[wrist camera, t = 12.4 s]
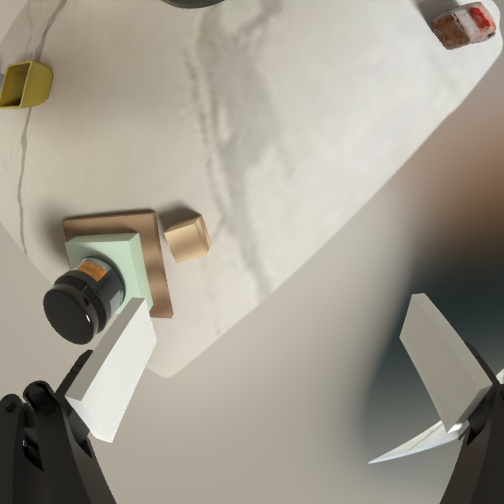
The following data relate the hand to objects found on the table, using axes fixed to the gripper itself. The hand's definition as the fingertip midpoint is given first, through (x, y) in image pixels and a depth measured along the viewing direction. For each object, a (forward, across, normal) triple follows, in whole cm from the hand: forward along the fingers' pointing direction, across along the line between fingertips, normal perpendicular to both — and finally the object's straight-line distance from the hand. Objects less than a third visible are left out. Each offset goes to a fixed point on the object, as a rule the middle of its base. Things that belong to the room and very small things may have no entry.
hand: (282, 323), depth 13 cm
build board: (+32, -29, -12) cm, 44 cm away
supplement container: (+26, -29, -12) cm, 41 cm away
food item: (+32, +36, +35) cm, 60 cm away
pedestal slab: (+30, -29, -12) cm, 43 cm away
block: (+32, -13, -6) cm, 35 cm away
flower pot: (+32, -43, +26) cm, 59 cm away
